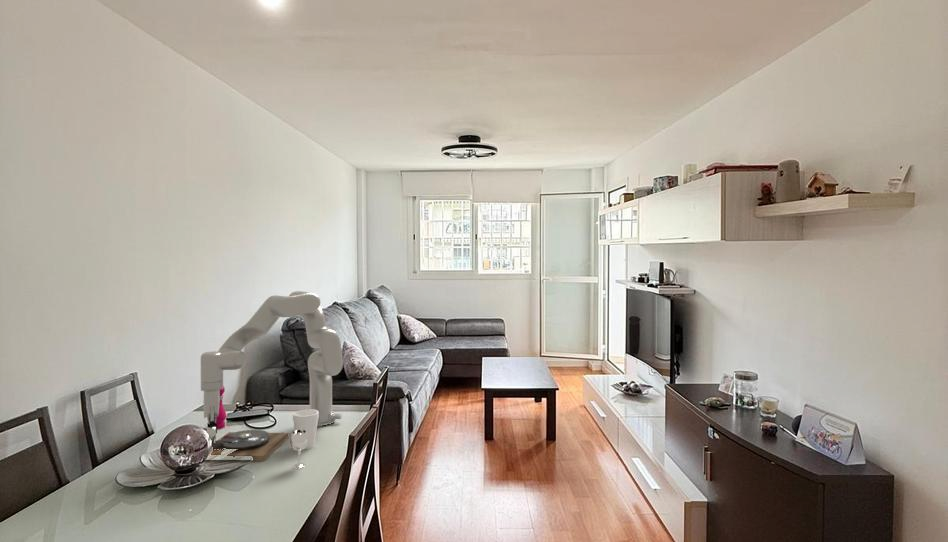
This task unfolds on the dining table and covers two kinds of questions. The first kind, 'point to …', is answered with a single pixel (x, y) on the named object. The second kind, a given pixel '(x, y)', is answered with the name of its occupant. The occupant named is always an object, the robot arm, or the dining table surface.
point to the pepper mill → (221, 412)
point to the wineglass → (299, 445)
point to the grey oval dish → (239, 439)
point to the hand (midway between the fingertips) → (212, 433)
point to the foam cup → (307, 424)
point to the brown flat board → (260, 451)
